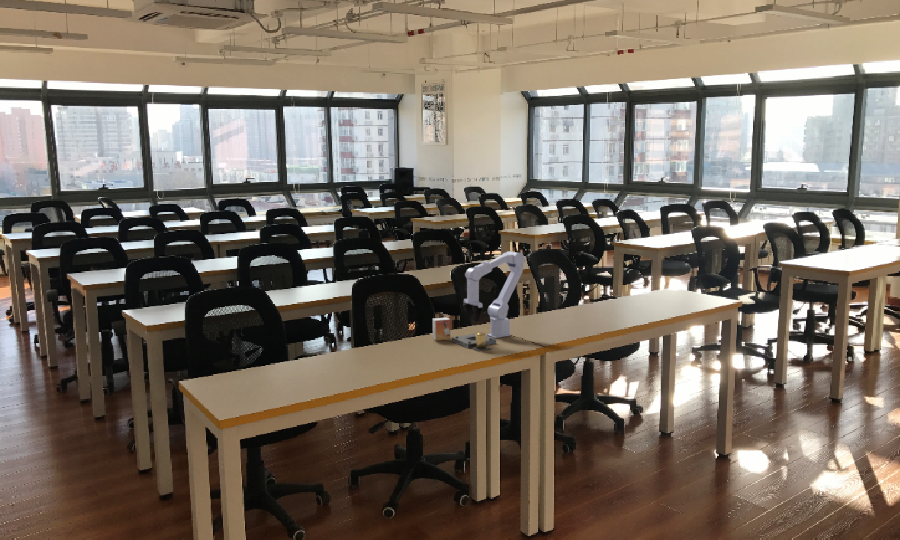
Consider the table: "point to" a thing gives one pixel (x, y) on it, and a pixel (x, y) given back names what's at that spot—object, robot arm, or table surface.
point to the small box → (441, 329)
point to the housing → (471, 340)
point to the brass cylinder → (480, 340)
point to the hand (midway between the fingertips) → (472, 319)
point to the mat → (480, 349)
